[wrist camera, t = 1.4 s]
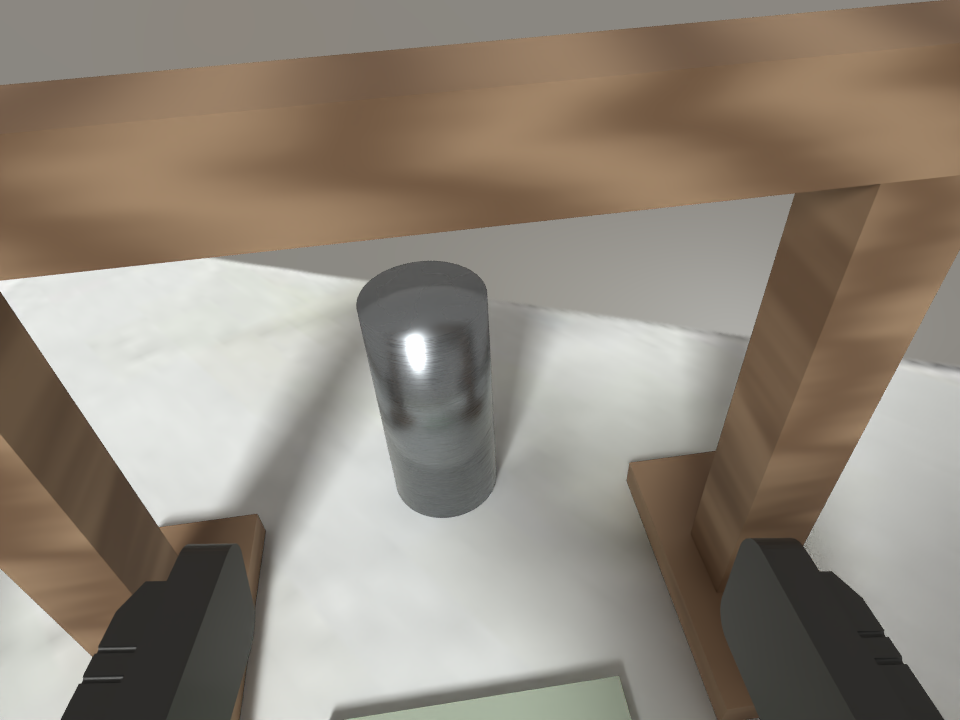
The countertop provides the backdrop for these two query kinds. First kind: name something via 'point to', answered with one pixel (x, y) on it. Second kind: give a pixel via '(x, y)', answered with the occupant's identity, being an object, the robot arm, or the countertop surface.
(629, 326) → the countertop surface
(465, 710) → the sage mat
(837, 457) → the walnut gate
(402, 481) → the tin can
